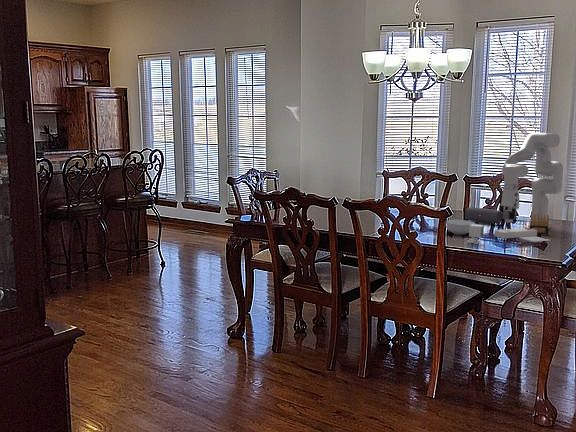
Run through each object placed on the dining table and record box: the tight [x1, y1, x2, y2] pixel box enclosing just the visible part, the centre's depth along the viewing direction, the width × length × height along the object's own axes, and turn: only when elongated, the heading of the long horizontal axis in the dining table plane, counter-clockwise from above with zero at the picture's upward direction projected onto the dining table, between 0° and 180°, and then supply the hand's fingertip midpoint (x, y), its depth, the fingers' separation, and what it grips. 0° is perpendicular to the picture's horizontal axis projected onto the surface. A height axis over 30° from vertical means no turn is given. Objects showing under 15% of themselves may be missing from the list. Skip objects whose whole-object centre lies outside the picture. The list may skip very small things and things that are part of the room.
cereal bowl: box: [445, 219, 476, 236], centre depth 356 cm, size 17×17×7 cm
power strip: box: [494, 227, 538, 239], centre depth 349 cm, size 24×8×4 cm, turn 111°
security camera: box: [466, 223, 485, 245], centre depth 328 cm, size 6×7×10 cm
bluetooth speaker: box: [464, 206, 504, 225], centre depth 393 cm, size 23×9×10 cm, turn 42°
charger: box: [502, 210, 515, 223], centre depth 346 cm, size 5×4×7 cm
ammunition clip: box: [529, 213, 550, 236], centre depth 356 cm, size 11×2×12 cm, turn 68°
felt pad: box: [518, 236, 552, 243], centre depth 338 cm, size 12×12×1 cm
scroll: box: [498, 190, 518, 222], centre depth 408 cm, size 15×15×20 cm
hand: (509, 217), depth 346 cm, fingers closed on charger, 4 cm apart
